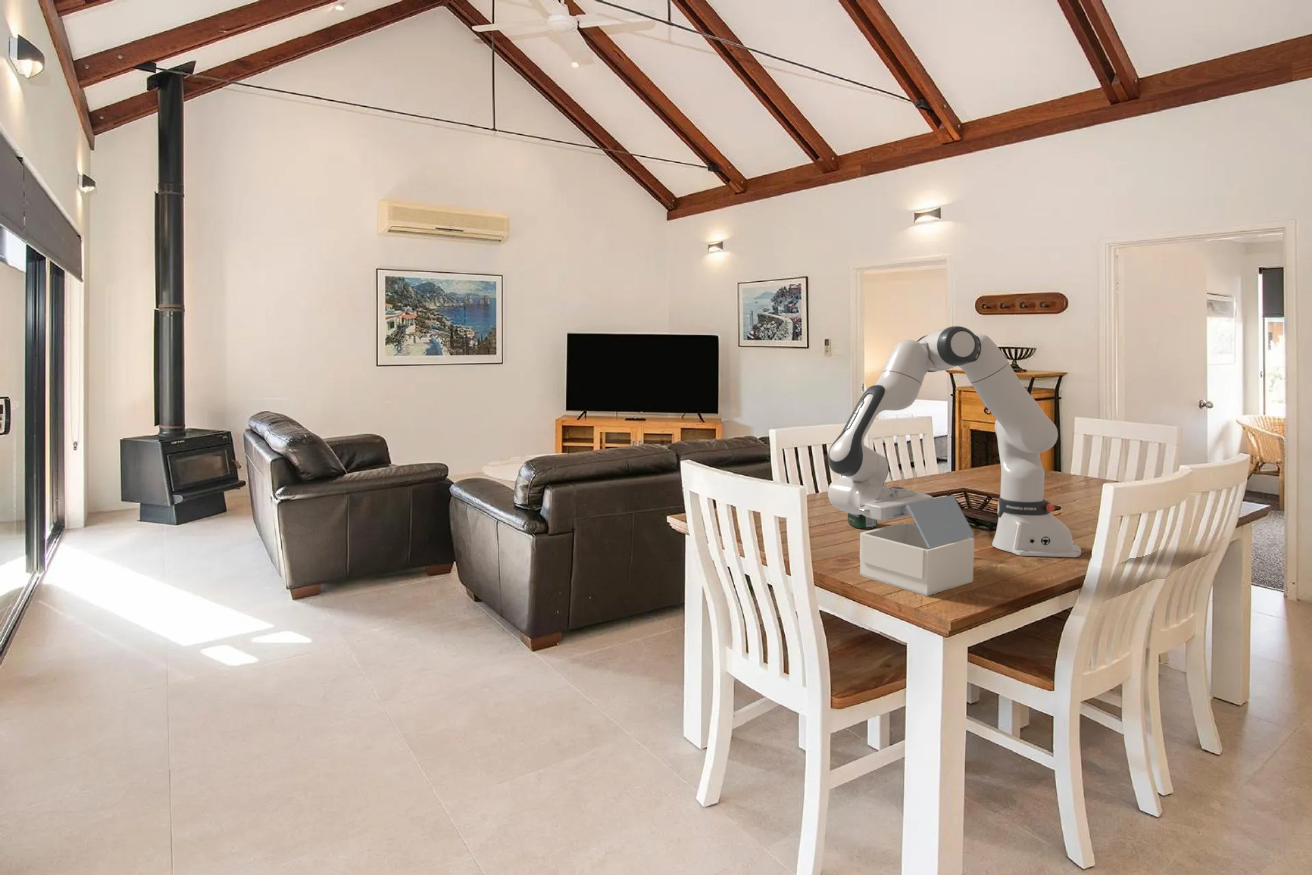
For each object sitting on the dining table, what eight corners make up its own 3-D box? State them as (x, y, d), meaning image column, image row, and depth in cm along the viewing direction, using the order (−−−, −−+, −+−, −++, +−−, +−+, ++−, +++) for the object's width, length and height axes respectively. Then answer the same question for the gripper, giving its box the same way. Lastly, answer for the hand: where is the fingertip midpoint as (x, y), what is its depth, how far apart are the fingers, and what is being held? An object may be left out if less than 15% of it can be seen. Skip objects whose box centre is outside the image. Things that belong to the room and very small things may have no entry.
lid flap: (906, 505, 183) (908, 504, 182) (951, 495, 192) (953, 494, 192) (928, 548, 179) (930, 547, 178) (972, 536, 188) (974, 535, 188)
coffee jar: (843, 523, 251) (844, 466, 248) (866, 521, 252) (867, 465, 250) (857, 530, 241) (858, 471, 239) (880, 528, 243) (882, 470, 241)
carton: (856, 575, 196) (857, 533, 195) (905, 562, 207) (906, 522, 206) (925, 597, 179) (926, 551, 178) (974, 581, 190) (975, 537, 189)
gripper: (853, 496, 194) (899, 505, 182) (906, 486, 205) (951, 494, 194) (853, 520, 195) (898, 531, 183) (905, 509, 206) (951, 518, 195)
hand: (926, 512), depth 189 cm, fingers closed
